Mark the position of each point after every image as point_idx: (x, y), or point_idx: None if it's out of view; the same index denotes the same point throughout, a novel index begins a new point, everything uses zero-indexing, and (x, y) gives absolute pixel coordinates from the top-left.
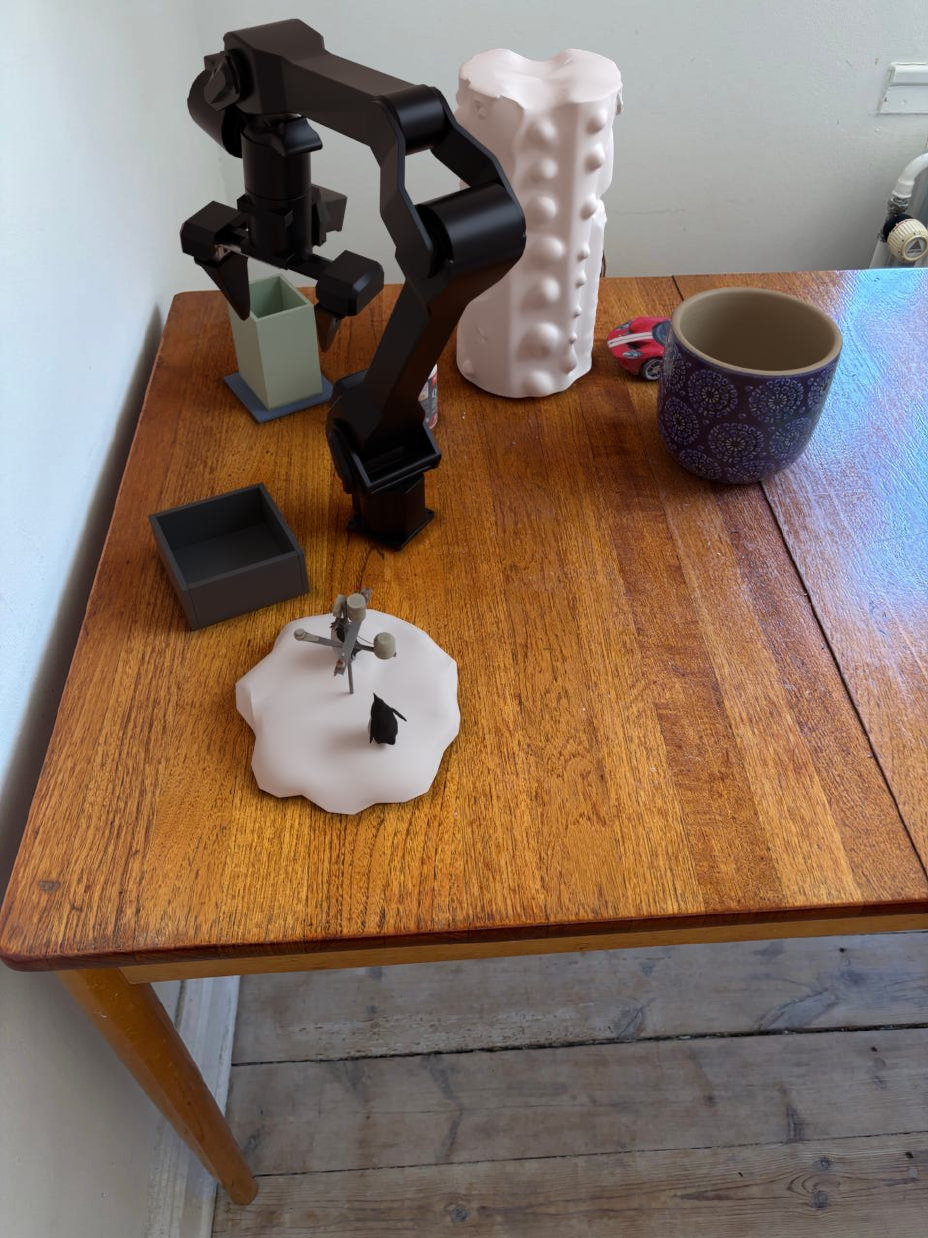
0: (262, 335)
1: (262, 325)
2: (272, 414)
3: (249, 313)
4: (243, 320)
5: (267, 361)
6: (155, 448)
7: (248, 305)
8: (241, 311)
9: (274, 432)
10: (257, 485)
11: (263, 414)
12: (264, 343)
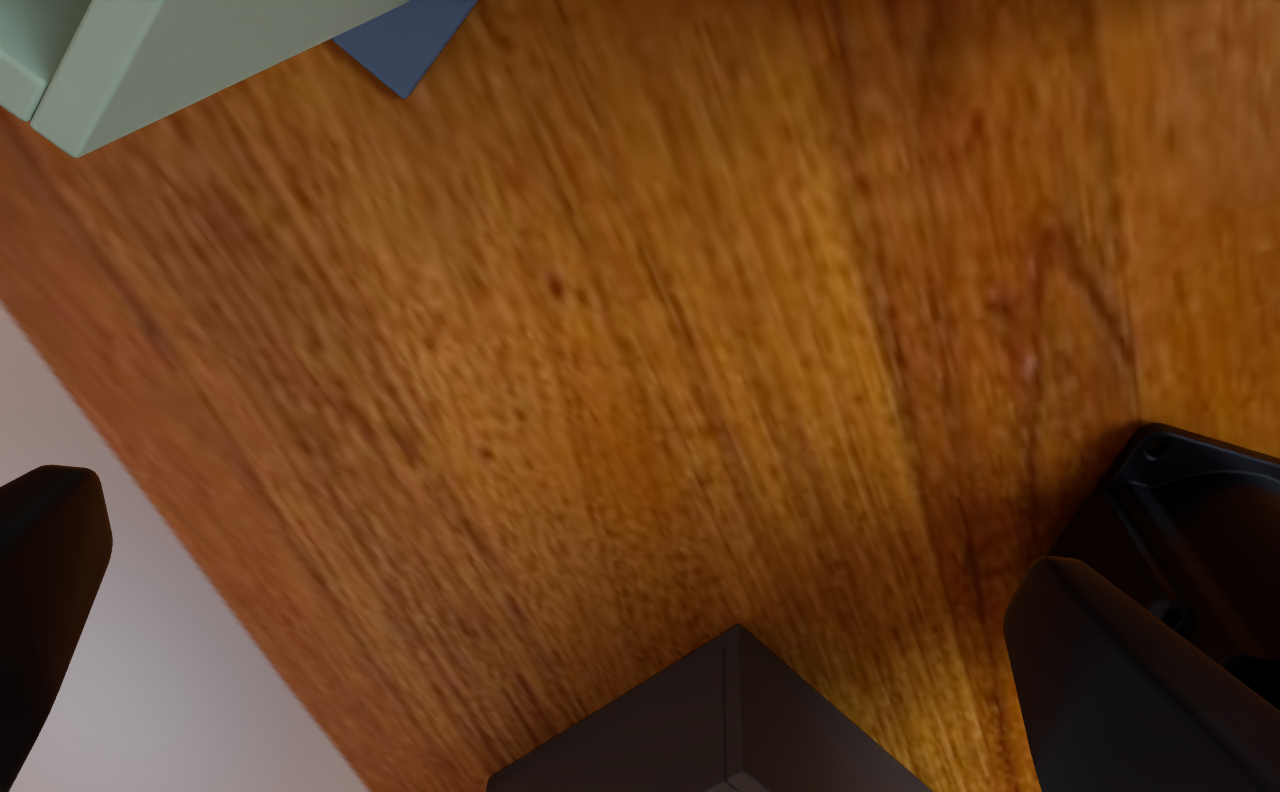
0: (191, 76)
1: (145, 93)
2: (439, 23)
3: (79, 495)
4: (105, 561)
5: (308, 23)
6: (117, 383)
7: (23, 585)
8: (52, 685)
9: (515, 141)
10: (732, 787)
11: (395, 38)
12: (236, 56)
